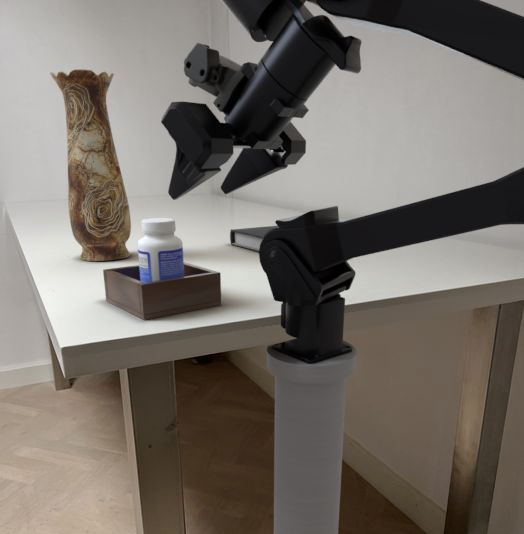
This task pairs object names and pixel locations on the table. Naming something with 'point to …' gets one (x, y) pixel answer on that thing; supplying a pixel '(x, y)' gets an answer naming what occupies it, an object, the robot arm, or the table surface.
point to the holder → (162, 291)
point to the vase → (93, 168)
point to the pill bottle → (160, 251)
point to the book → (249, 237)
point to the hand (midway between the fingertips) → (199, 193)
